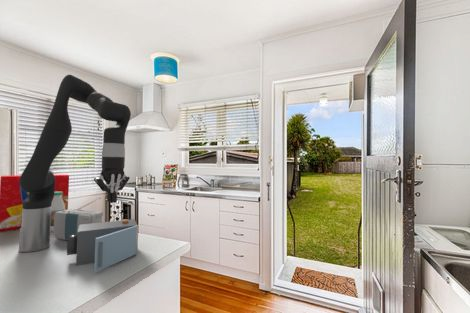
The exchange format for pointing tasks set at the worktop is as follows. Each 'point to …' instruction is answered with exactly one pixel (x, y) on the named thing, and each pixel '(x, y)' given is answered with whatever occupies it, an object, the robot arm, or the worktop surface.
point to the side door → (115, 247)
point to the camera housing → (93, 238)
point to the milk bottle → (56, 207)
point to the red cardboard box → (21, 200)
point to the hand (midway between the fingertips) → (111, 202)
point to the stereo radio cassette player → (73, 221)
